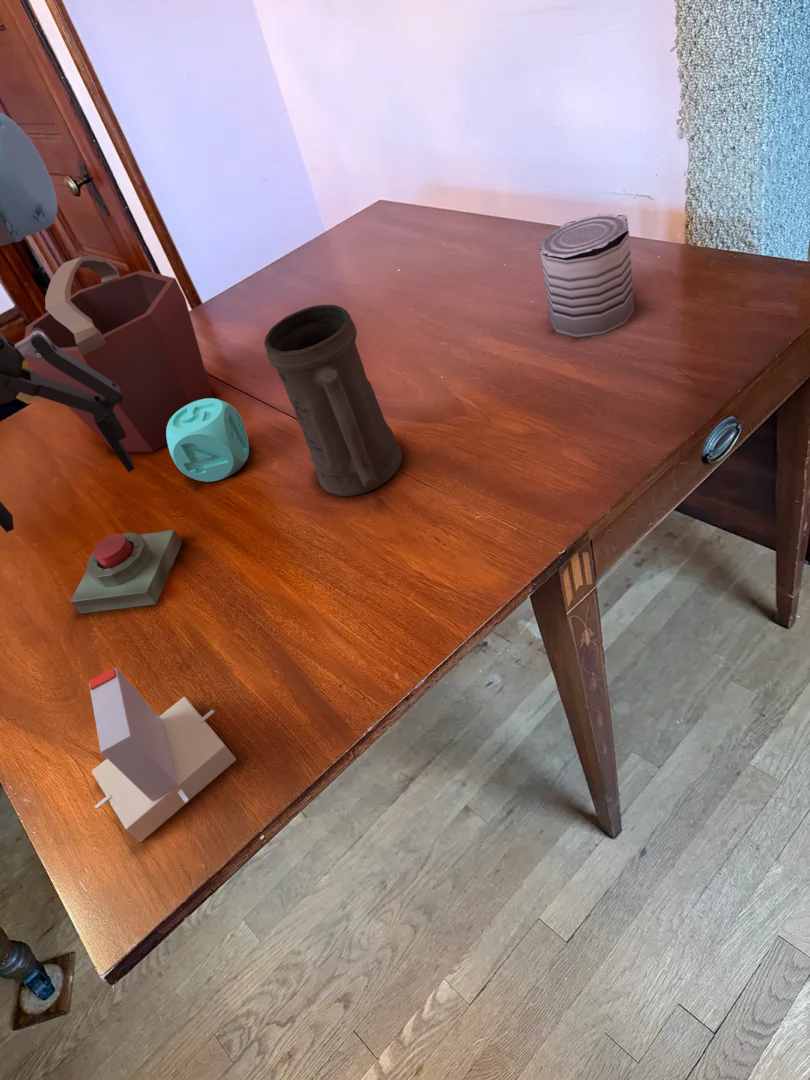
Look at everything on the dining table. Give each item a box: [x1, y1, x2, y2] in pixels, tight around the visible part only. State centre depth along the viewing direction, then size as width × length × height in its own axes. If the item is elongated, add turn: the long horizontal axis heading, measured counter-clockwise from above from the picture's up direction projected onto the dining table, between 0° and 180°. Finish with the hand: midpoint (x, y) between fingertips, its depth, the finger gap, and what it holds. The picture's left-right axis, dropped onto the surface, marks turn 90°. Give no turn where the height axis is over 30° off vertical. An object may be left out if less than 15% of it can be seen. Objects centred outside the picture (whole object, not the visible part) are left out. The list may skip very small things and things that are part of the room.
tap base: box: [91, 696, 237, 843], centre depth 66 cm, size 12×12×3 cm
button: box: [92, 532, 133, 569], centre depth 86 cm, size 4×4×2 cm
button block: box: [69, 529, 183, 614], centre depth 87 cm, size 10×10×4 cm
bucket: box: [22, 255, 214, 453], centre depth 107 cm, size 24×22×25 cm
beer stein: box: [263, 304, 403, 497], centre depth 84 cm, size 15×11×20 cm
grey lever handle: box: [88, 667, 178, 801], centre depth 62 cm, size 8×2×8 cm, turn 25°
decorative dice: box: [166, 397, 250, 483], centre depth 99 cm, size 8×8×8 cm
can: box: [539, 213, 635, 338], centre depth 99 cm, size 11×11×12 cm
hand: (70, 494), depth 79 cm, fingers open, 13 cm apart
